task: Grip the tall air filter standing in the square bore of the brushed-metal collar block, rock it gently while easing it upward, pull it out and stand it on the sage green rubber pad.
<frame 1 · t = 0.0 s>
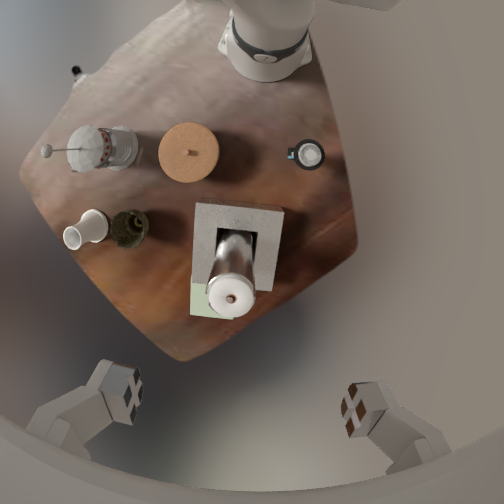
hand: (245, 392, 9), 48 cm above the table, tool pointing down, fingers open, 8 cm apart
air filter: (236, 239, 58), resting in bore block
lidded jar: (195, 152, 51), on the table
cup: (141, 220, 56), on the table
push button: (302, 154, 52), on the table
french press: (115, 150, 50), on the table
bore block: (236, 239, 57), on the table
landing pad: (213, 296, 62), on the table
vase: (95, 225, 56), on the table
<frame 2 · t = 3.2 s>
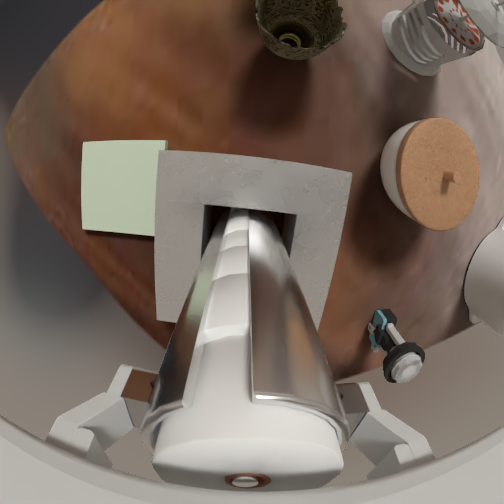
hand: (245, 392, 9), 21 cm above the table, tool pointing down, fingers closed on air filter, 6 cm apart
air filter: (246, 232, 29), resting in bore block, touching gripper
lidded jar: (404, 167, 27), on the table
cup: (288, 45, 22), on the table
push button: (375, 326, 34), on the table
french press: (411, 36, 21), on the table
bore block: (245, 233, 29), on the table
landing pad: (122, 186, 27), on the table
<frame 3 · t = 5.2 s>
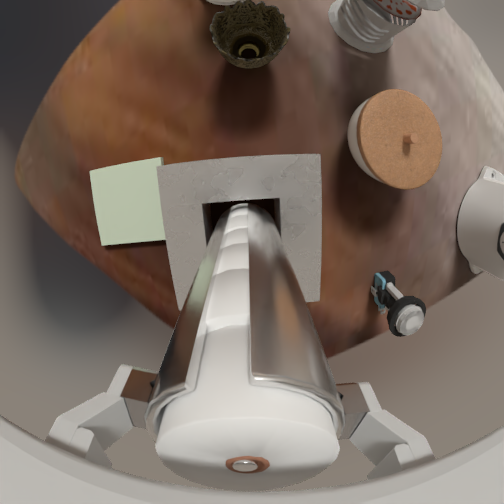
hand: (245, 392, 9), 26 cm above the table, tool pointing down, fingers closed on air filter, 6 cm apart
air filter: (245, 232, 30), point 4 cm above the table, touching gripper
lidded jar: (373, 140, 30), on the table
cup: (248, 54, 26), on the table
push button: (378, 289, 37), on the table
french press: (358, 19, 24), on the table
bore block: (243, 223, 33), on the table
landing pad: (130, 202, 32), on the table
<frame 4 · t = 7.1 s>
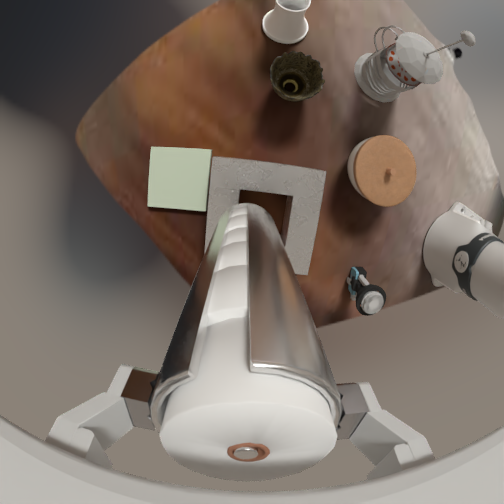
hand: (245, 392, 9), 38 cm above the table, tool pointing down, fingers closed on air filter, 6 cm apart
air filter: (246, 231, 30), point 15 cm above the table, touching gripper
lidded jar: (367, 167, 43), on the table
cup: (289, 87, 38), on the table
push button: (353, 280, 50), on the table
french press: (376, 72, 36), on the table
bore block: (261, 210, 45), on the table
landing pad: (179, 177, 43), on the table
vase: (284, 26, 34), on the table
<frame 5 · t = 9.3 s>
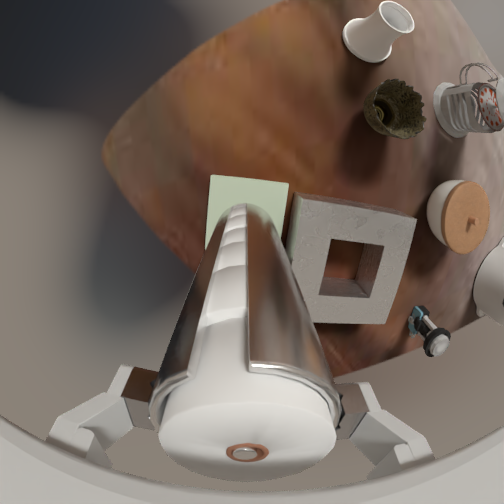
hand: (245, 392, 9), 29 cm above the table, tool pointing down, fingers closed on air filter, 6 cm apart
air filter: (245, 231, 30), point 7 cm above the table, touching gripper
lidded jar: (439, 207, 37), on the table
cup: (373, 114, 32), on the table
push button: (413, 318, 44), on the table
french press: (451, 104, 31), on the table
bore block: (338, 254, 39), on the table
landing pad: (245, 215, 37), on the table
vase: (365, 41, 28), on the table
when the fingers open (24 cm above the table, at t = 11.3 s): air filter stays where it is, resting on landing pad.
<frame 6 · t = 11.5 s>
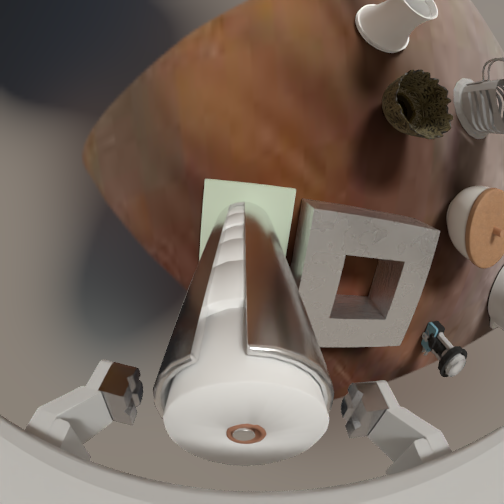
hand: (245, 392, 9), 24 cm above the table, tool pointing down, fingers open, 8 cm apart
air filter: (243, 229, 31), point 1 cm above the table, touching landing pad
lidded jar: (459, 215, 32), on the table
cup: (391, 111, 27), on the table
push button: (426, 334, 39), on the table
french press: (471, 102, 26), on the table
bore block: (350, 269, 34), on the table
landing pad: (245, 226, 32), on the table
vase: (380, 29, 23), on the table
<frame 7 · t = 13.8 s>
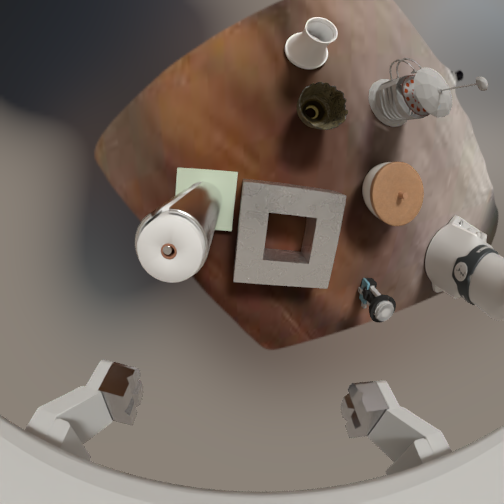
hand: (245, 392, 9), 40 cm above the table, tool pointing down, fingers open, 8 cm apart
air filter: (203, 200, 45), point 1 cm above the table, touching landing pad
lidded jar: (378, 188, 47), on the table
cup: (310, 113, 42), on the table
push button: (363, 290, 54), on the table
french press: (388, 98, 41), on the table
bore block: (283, 229, 48), on the table
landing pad: (205, 198, 46), on the table
vase: (305, 51, 38), on the table
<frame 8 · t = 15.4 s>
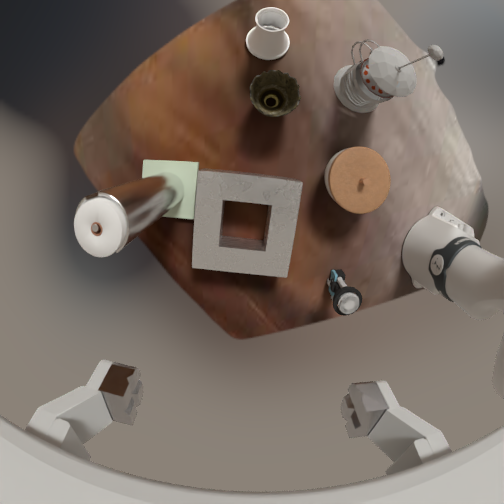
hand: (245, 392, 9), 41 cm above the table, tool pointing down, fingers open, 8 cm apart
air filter: (166, 190, 46), point 1 cm above the table, touching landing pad
lidded jar: (345, 176, 47), on the table
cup: (270, 102, 42), on the table
push button: (333, 282, 54), on the table
french press: (356, 84, 41), on the table
bore block: (245, 217, 49), on the table
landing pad: (169, 188, 47), on the table
vase: (267, 43, 38), on the table
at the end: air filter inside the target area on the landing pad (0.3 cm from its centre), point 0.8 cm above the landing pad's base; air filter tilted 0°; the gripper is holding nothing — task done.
